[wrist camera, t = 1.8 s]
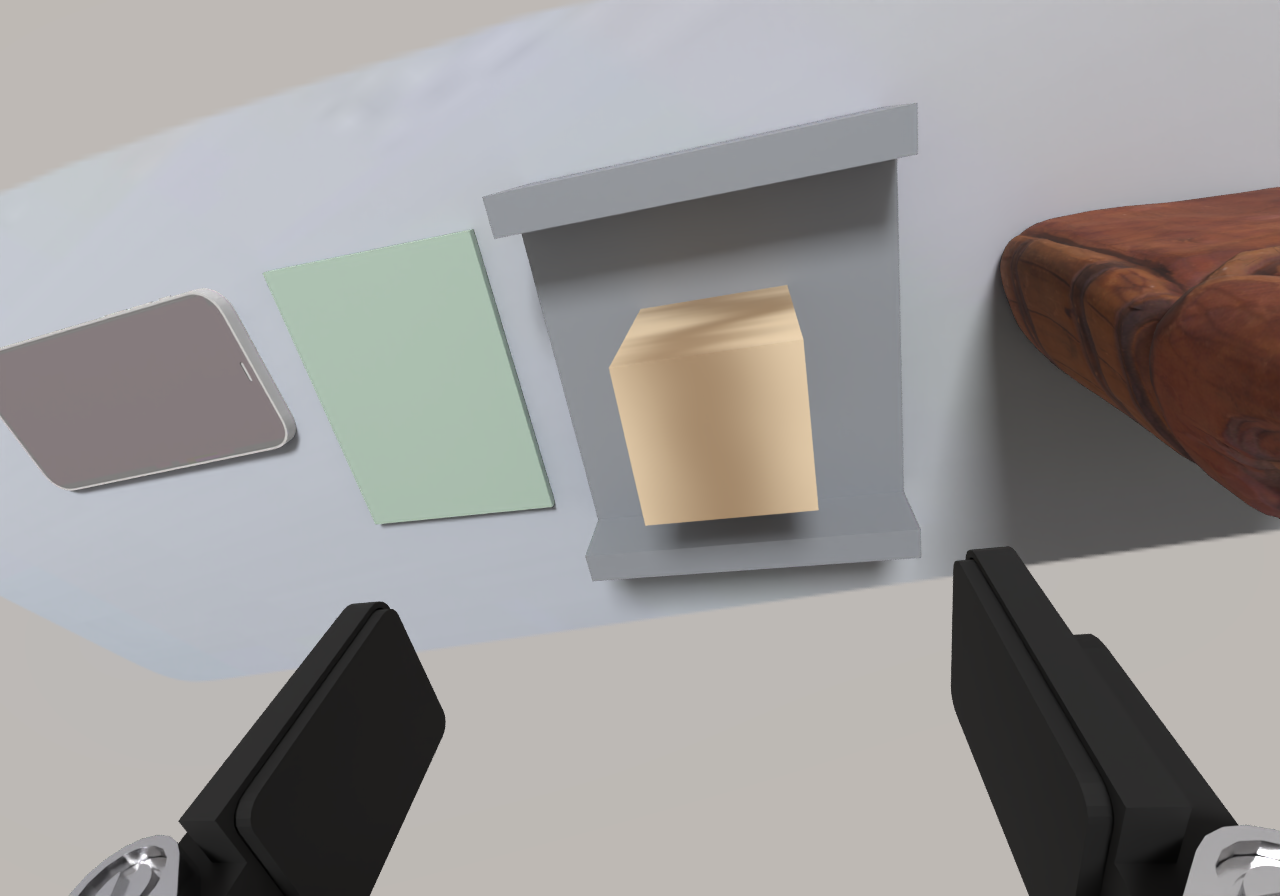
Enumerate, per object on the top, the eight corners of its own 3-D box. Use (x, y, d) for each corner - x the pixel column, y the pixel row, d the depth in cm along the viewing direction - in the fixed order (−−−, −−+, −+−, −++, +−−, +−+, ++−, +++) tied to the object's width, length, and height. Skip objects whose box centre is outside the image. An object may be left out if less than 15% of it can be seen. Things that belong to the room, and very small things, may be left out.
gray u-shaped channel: (882, 107, 20) (917, 103, 16) (893, 491, 26) (920, 557, 22) (527, 184, 22) (482, 197, 18) (613, 517, 28) (592, 581, 24)
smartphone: (-45, 359, 29) (207, 284, 25) (-23, 353, 30) (224, 279, 26) (58, 494, 32) (297, 445, 28) (75, 485, 33) (309, 436, 29)
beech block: (787, 284, 21) (803, 339, 15) (800, 421, 23) (818, 510, 18) (640, 309, 22) (608, 367, 17) (666, 437, 24) (645, 526, 19)
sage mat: (473, 229, 23) (469, 230, 23) (554, 502, 28) (552, 506, 28) (268, 271, 25) (262, 273, 25) (379, 519, 30) (375, 524, 30)
